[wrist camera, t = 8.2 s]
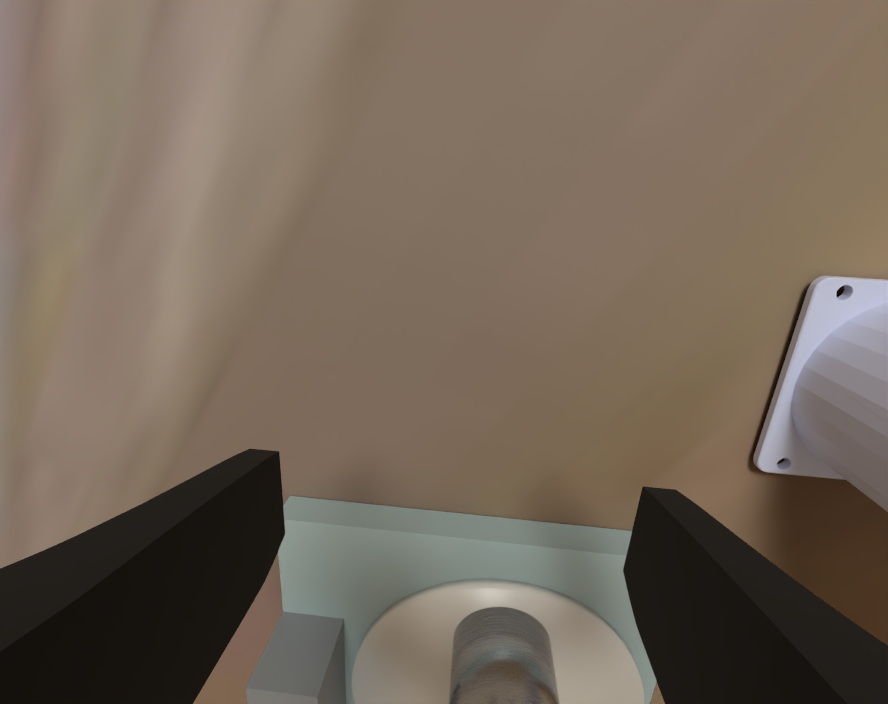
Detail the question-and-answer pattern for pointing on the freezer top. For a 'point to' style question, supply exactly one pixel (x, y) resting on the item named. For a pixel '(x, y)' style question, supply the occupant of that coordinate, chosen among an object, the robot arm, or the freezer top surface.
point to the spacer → (502, 660)
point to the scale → (441, 604)
